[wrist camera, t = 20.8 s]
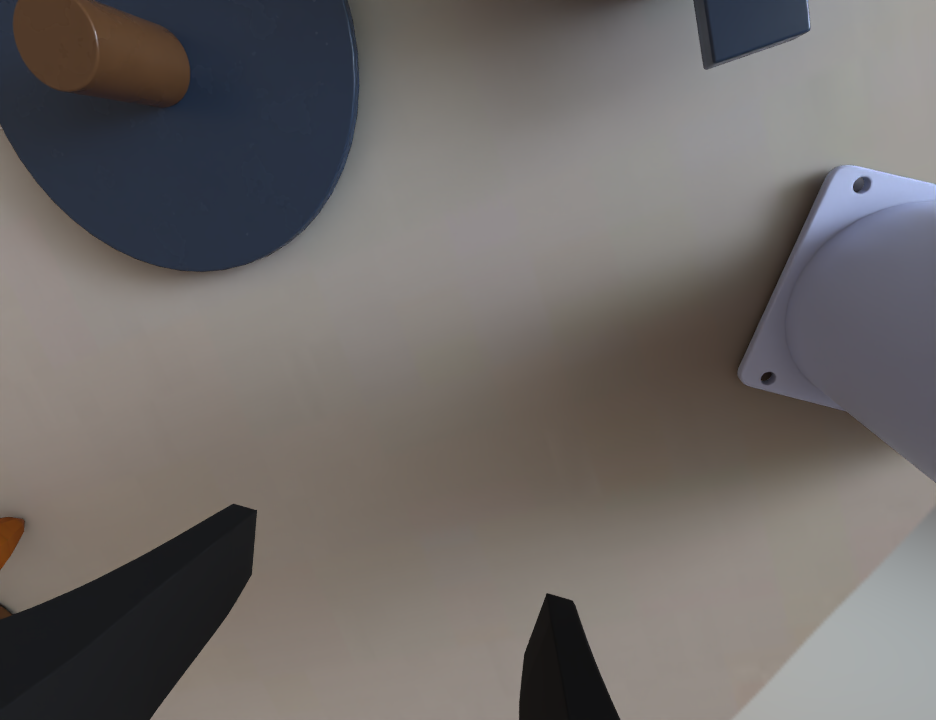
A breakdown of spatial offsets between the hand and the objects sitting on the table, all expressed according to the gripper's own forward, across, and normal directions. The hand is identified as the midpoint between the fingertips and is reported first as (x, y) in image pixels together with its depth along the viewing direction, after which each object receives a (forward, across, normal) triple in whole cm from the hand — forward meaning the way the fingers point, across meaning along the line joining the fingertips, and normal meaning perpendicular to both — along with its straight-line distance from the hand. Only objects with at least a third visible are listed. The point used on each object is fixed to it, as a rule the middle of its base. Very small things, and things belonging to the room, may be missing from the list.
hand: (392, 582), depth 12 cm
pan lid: (+10, +13, -10) cm, 19 cm away
